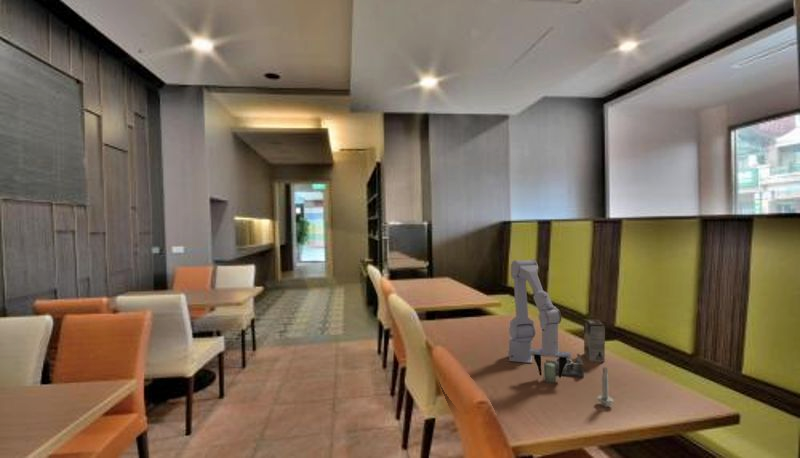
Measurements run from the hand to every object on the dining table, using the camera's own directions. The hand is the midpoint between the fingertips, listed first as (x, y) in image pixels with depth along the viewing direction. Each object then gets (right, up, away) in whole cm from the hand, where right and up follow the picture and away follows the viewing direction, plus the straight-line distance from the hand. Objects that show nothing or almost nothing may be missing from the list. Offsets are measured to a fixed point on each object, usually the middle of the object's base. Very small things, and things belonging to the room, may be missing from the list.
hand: (550, 375), depth 143 cm
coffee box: (+28, -1, +21) cm, 35 cm away
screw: (+11, -3, -19) cm, 22 cm away
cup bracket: (+9, -1, +10) cm, 14 cm away
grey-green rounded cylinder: (0, -2, 0) cm, 2 cm away
